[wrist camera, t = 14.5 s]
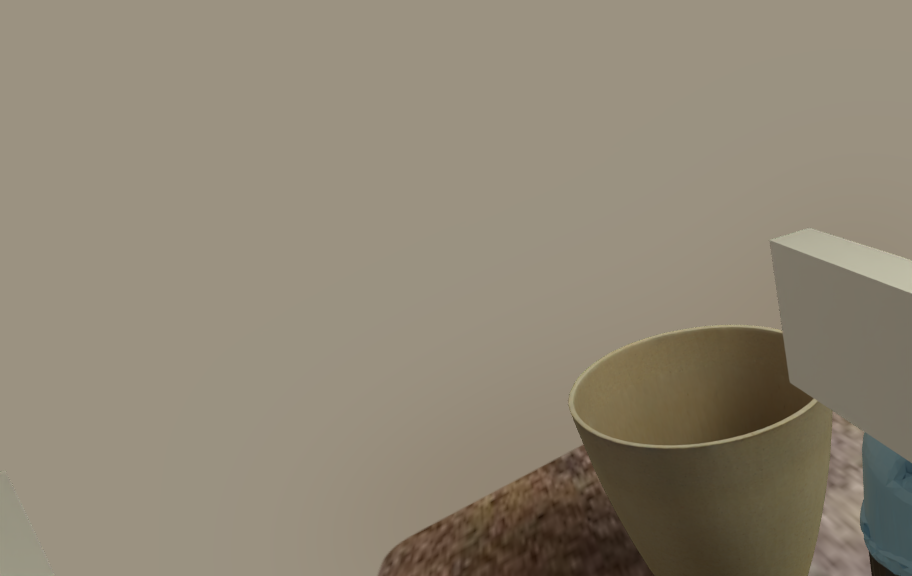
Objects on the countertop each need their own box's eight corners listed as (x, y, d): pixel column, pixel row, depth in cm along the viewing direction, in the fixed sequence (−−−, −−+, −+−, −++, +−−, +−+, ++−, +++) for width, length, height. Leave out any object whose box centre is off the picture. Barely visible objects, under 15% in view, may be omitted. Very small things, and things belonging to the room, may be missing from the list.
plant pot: (692, 506, 62) (655, 315, 57) (901, 567, 51) (877, 336, 46) (572, 630, 53) (517, 415, 48) (795, 735, 42) (751, 470, 37)
